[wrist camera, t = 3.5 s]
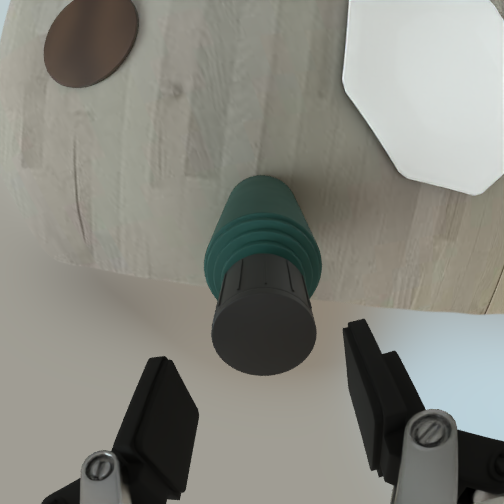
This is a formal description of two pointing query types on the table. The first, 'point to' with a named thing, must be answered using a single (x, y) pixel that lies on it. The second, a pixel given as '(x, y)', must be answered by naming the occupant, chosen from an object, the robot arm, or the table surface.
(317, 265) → the bottle
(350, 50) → the plate
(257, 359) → the cap
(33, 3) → the table surface
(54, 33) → the lid
